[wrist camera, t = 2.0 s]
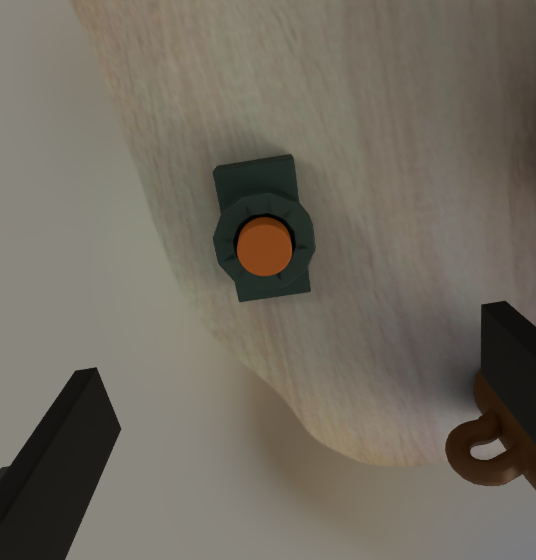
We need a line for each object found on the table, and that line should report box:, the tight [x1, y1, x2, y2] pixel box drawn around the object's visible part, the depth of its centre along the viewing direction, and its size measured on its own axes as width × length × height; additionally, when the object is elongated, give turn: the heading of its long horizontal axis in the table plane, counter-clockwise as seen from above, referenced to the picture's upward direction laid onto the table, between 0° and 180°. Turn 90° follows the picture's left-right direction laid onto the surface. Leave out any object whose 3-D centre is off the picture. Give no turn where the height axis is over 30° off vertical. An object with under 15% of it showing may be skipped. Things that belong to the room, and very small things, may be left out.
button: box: [237, 217, 292, 276], centre depth 26 cm, size 3×3×2 cm
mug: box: [445, 369, 536, 490], centre depth 31 cm, size 12×8×9 cm, turn 100°
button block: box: [213, 154, 315, 302], centre depth 28 cm, size 9×6×4 cm
